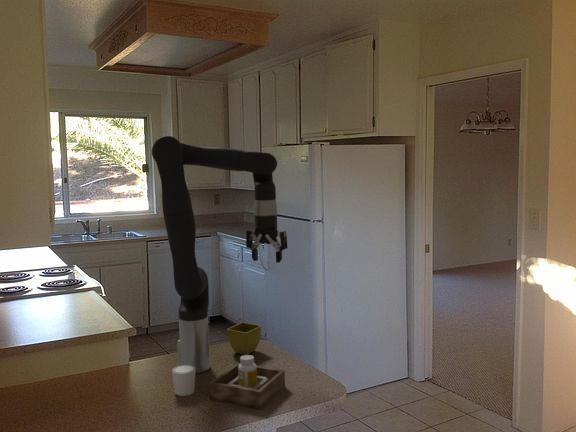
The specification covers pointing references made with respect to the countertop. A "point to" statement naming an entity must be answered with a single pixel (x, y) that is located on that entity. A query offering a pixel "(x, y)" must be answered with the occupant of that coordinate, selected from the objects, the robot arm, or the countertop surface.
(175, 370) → the white cup
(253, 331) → the flower pot
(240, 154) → the robot arm
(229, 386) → the walled box
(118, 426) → the countertop surface
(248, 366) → the supplement bottle
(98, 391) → the countertop surface
